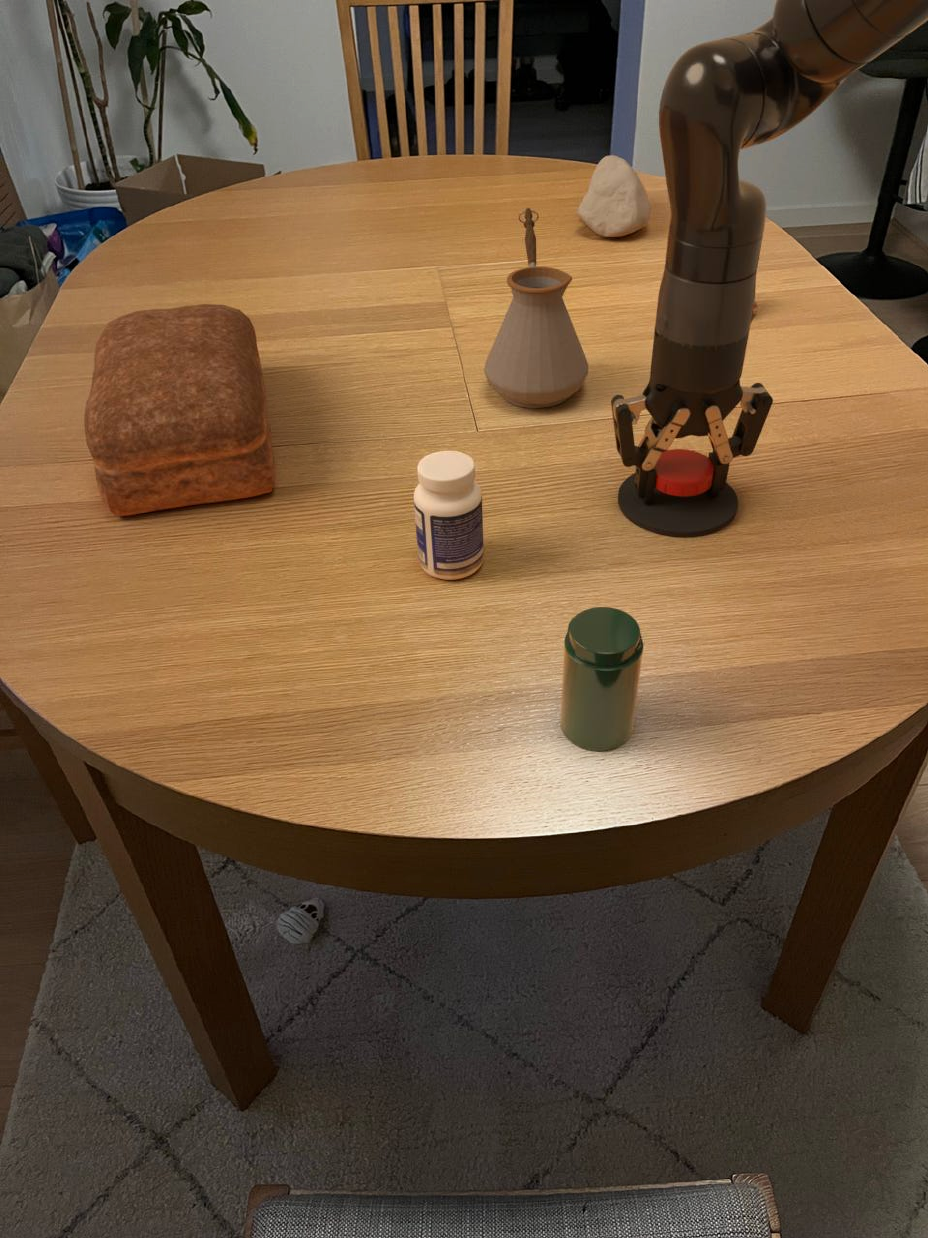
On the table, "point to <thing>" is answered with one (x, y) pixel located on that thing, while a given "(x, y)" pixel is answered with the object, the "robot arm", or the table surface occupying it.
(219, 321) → the bread
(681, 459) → the lid
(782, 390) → the table surface
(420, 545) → the pill bottle
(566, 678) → the jar
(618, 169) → the decorative stone
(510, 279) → the coffee pot
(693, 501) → the coaster
